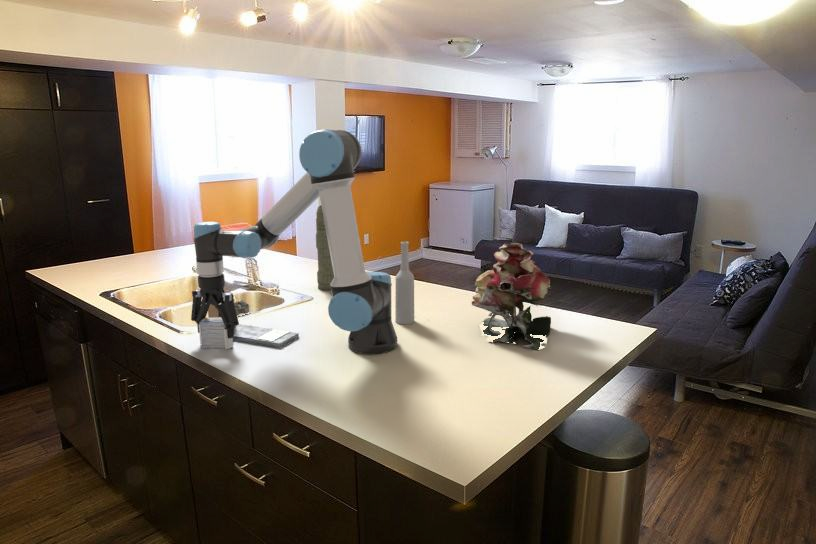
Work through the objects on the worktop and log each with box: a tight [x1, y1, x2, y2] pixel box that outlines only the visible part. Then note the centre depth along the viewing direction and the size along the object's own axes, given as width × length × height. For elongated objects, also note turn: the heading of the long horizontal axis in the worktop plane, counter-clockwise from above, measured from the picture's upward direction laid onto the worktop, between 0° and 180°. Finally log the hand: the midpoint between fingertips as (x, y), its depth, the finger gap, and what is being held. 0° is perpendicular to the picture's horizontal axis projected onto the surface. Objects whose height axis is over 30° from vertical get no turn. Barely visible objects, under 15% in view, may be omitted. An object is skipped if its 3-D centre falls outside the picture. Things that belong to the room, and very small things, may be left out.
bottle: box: [394, 241, 415, 325], centre depth 192 cm, size 7×7×28 cm
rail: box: [207, 298, 300, 349], centre depth 180 cm, size 30×10×10 cm, turn 67°
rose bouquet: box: [471, 242, 553, 350], centre depth 180 cm, size 26×29×30 cm
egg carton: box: [234, 299, 251, 316], centre depth 205 cm, size 11×8×4 cm
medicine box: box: [200, 317, 226, 349], centre depth 171 cm, size 8×4×9 cm, turn 92°
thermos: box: [315, 205, 334, 291], centre depth 235 cm, size 9×12×35 cm
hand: (216, 345), depth 172 cm, fingers open, 9 cm apart
